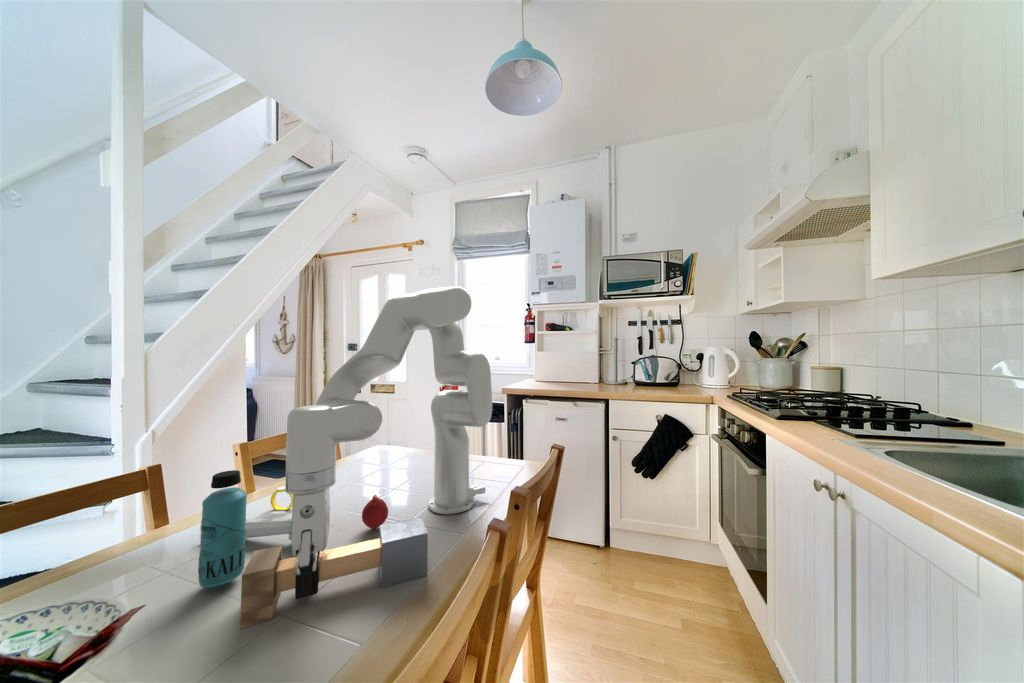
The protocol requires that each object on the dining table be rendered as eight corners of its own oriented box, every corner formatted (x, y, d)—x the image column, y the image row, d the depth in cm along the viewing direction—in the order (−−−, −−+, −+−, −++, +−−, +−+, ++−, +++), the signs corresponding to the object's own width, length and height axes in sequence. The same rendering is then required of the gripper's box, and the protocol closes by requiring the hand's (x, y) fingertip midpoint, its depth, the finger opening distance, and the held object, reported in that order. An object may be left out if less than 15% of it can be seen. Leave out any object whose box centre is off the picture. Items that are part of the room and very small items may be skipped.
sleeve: (420, 555, 68) (421, 516, 69) (427, 575, 62) (427, 532, 62) (379, 565, 65) (379, 525, 65) (381, 588, 59) (382, 543, 59)
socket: (281, 590, 58) (282, 545, 58) (272, 619, 52) (273, 568, 52) (253, 598, 56) (254, 551, 57) (240, 628, 50) (241, 575, 50)
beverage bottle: (216, 574, 63) (220, 467, 64) (254, 572, 63) (257, 465, 64) (185, 599, 56) (190, 479, 57) (227, 596, 57) (231, 478, 58)
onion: (393, 525, 81) (393, 491, 81) (376, 537, 75) (376, 501, 76) (373, 521, 83) (374, 488, 83) (356, 533, 77) (356, 498, 78)
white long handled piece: (226, 516, 78) (324, 505, 76) (228, 545, 78) (327, 535, 75) (203, 527, 73) (307, 516, 70) (205, 558, 72) (310, 548, 70)
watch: (268, 513, 88) (267, 490, 88) (276, 508, 91) (275, 486, 91) (290, 511, 88) (289, 488, 88) (297, 506, 91) (296, 484, 91)
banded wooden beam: (382, 557, 64) (382, 531, 64) (384, 571, 60) (384, 544, 60) (262, 586, 56) (263, 557, 56) (254, 605, 52) (256, 574, 52)
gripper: (332, 491, 52) (330, 612, 51) (338, 460, 67) (336, 553, 66) (274, 500, 49) (271, 629, 48) (294, 466, 64) (291, 563, 63)
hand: (309, 583), depth 57 cm, fingers closed on banded wooden beam, 4 cm apart
